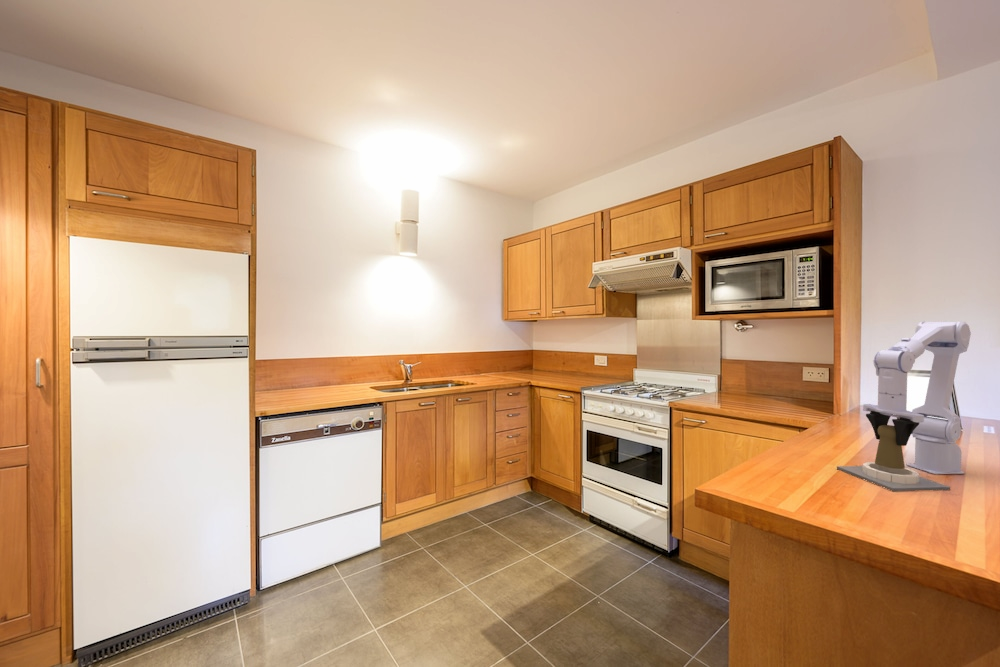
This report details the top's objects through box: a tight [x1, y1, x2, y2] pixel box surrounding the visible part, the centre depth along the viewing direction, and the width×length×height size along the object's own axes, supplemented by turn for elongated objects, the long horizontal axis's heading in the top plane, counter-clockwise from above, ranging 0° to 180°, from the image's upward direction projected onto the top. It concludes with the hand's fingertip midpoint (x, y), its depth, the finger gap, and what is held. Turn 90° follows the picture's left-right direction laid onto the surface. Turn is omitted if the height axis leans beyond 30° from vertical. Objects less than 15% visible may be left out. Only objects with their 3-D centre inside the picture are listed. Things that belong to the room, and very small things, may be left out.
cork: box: [874, 424, 906, 469], centre depth 112 cm, size 6×6×11 cm
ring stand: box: [836, 461, 951, 492], centre depth 112 cm, size 16×16×3 cm
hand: (890, 442), depth 112 cm, fingers closed on cork, 5 cm apart
